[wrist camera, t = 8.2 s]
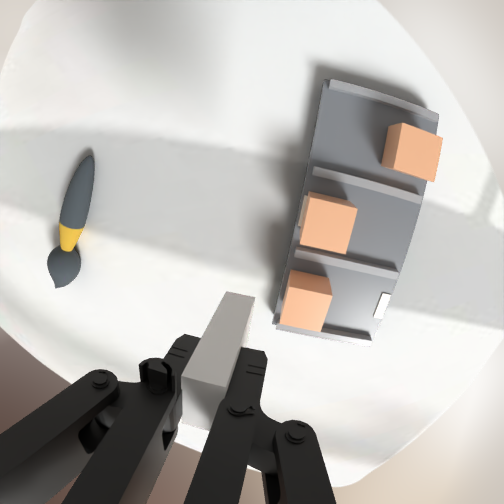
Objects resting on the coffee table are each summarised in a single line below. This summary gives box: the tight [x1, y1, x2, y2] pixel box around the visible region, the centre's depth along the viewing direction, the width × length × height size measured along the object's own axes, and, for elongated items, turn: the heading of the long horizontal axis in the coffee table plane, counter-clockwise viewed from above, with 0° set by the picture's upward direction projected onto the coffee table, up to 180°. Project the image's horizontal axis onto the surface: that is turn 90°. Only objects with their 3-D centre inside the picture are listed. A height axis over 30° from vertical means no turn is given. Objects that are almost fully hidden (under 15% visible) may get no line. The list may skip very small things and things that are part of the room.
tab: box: [381, 123, 443, 182], centre depth 22 cm, size 4×4×4 cm
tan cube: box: [280, 270, 333, 332], centre depth 28 cm, size 4×4×4 cm
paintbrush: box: [47, 156, 94, 288], centre depth 33 cm, size 20×5×5 cm, turn 160°
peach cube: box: [300, 191, 358, 254], centre depth 26 cm, size 4×4×4 cm
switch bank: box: [272, 79, 439, 347], centre depth 28 cm, size 26×12×3 cm, turn 170°
